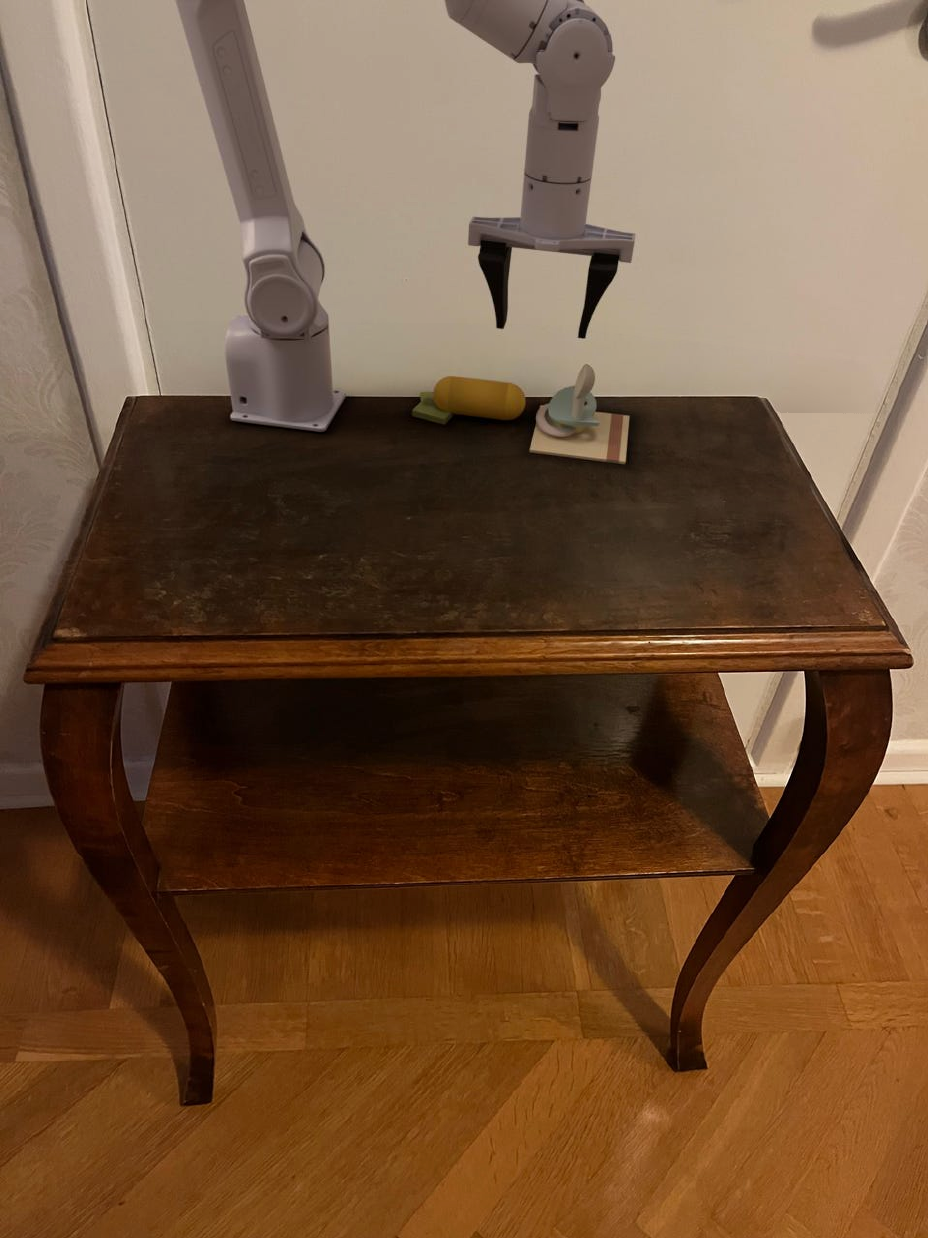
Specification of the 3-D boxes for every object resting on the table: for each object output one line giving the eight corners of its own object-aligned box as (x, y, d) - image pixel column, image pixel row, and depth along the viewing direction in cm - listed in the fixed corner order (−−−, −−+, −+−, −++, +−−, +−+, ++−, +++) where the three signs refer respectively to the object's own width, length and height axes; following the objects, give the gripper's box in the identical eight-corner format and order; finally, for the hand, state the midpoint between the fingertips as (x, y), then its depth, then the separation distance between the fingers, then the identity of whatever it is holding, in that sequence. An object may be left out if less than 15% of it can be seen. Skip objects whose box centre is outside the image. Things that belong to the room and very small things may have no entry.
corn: (409, 420, 89) (409, 386, 86) (422, 393, 93) (422, 360, 91) (520, 434, 88) (523, 400, 85) (527, 406, 92) (530, 373, 90)
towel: (529, 452, 85) (529, 449, 85) (540, 407, 92) (540, 404, 92) (625, 464, 84) (625, 461, 84) (629, 418, 91) (629, 415, 91)
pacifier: (536, 443, 86) (599, 444, 86) (540, 382, 82) (607, 383, 82) (534, 406, 92) (593, 407, 92) (538, 347, 88) (600, 348, 87)
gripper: (464, 178, 74) (458, 337, 83) (642, 196, 72) (616, 356, 81) (479, 156, 79) (471, 307, 88) (645, 172, 78) (620, 325, 87)
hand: (541, 329), depth 85 cm, fingers open, 7 cm apart
